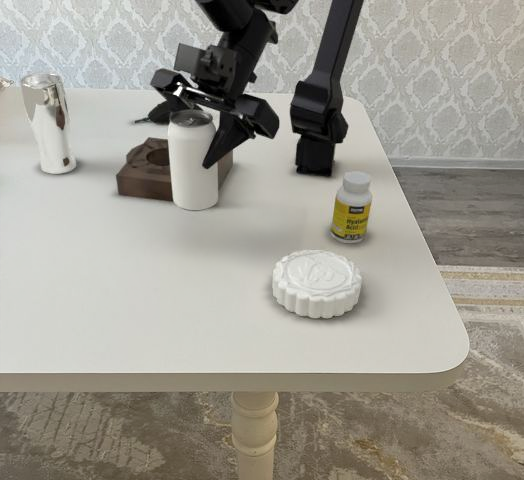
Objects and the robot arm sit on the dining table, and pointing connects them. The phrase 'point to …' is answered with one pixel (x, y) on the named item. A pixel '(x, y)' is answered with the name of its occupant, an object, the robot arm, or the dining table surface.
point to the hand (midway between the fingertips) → (186, 160)
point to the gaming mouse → (162, 113)
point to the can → (192, 160)
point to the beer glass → (49, 120)
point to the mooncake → (316, 283)
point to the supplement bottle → (352, 208)
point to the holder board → (156, 171)
